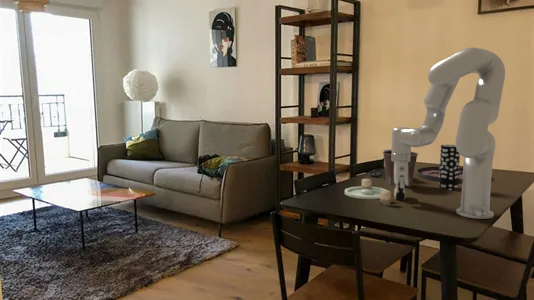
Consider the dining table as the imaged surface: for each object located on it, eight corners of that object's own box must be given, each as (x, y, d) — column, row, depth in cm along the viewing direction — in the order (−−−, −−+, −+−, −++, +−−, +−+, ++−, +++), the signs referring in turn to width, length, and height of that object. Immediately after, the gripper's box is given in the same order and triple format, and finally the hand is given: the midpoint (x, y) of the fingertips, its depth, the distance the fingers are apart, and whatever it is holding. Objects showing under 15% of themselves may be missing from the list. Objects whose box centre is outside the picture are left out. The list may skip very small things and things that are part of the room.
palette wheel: (417, 181, 219) (417, 176, 219) (416, 169, 252) (417, 165, 252) (494, 185, 208) (494, 180, 208) (483, 172, 241) (483, 167, 241)
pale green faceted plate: (391, 202, 178) (391, 196, 178) (344, 200, 182) (344, 194, 181) (387, 191, 197) (387, 186, 196) (344, 190, 200) (345, 184, 200)
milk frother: (402, 180, 220) (403, 152, 218) (370, 180, 223) (371, 151, 221) (399, 175, 234) (399, 148, 232) (369, 174, 236) (369, 147, 234)
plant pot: (423, 185, 208) (424, 152, 206) (405, 191, 197) (406, 156, 195) (393, 180, 220) (394, 149, 218) (375, 185, 209) (375, 152, 207)
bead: (371, 192, 192) (372, 181, 191) (361, 191, 193) (361, 180, 192) (371, 189, 196) (371, 179, 195) (361, 189, 197) (361, 178, 196)
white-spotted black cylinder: (459, 190, 198) (462, 147, 195) (440, 189, 199) (442, 146, 197) (455, 186, 206) (458, 144, 203) (437, 185, 207) (439, 144, 205)
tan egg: (405, 202, 177) (405, 190, 177) (394, 202, 178) (394, 190, 178) (404, 199, 182) (404, 188, 181) (393, 199, 183) (393, 187, 182)
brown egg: (392, 205, 173) (392, 193, 172) (380, 205, 173) (380, 193, 173) (390, 202, 177) (390, 190, 176) (379, 202, 178) (379, 190, 177)
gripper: (413, 160, 169) (411, 206, 171) (407, 154, 185) (406, 196, 187) (393, 160, 170) (391, 205, 173) (389, 154, 186) (388, 195, 189)
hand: (399, 200), depth 180 cm, fingers closed on tan egg, 4 cm apart
